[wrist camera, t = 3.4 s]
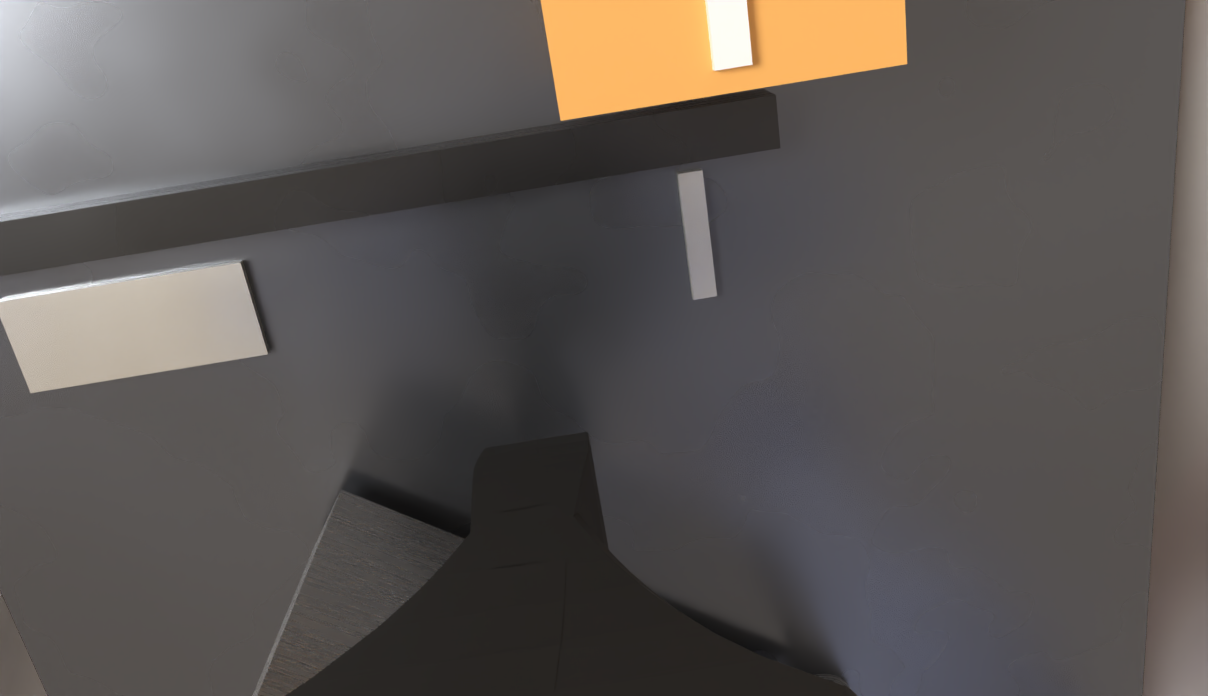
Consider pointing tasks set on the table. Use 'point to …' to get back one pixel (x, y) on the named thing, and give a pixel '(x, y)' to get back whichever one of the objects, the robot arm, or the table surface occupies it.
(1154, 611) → the table surface
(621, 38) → the fader
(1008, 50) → the console
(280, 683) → the gate
